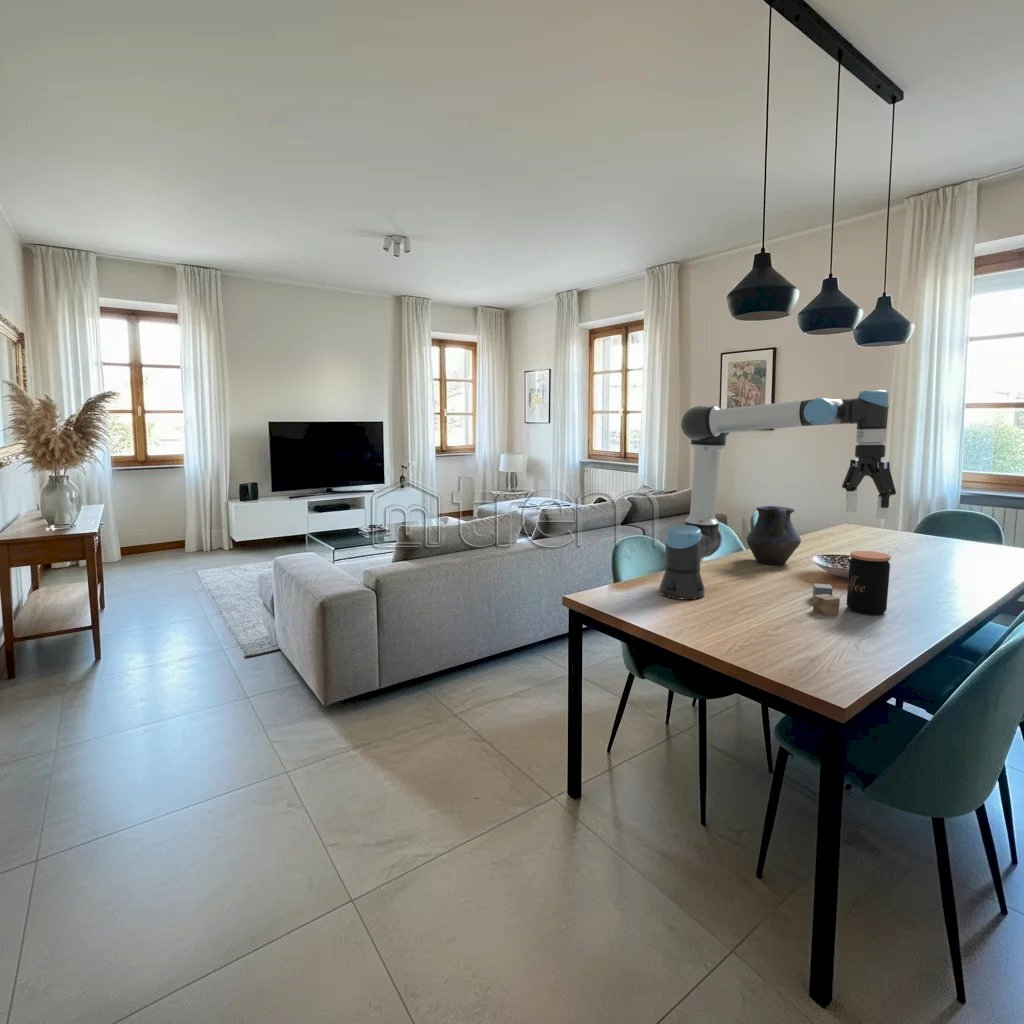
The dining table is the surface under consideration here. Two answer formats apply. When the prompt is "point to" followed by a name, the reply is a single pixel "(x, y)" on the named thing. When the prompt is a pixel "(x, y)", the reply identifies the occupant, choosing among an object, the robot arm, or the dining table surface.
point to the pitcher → (773, 535)
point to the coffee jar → (868, 582)
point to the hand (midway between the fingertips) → (865, 515)
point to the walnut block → (826, 604)
